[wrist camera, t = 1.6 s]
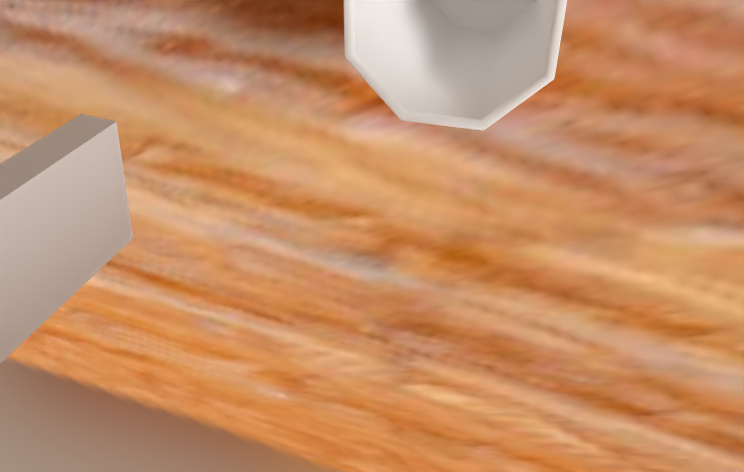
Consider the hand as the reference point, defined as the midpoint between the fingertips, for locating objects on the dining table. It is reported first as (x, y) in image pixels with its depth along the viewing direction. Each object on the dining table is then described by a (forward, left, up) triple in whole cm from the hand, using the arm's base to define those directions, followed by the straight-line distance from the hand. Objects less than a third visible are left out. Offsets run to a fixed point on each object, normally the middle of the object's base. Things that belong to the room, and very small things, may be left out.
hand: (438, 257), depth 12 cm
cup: (-2, -3, -18) cm, 18 cm away
